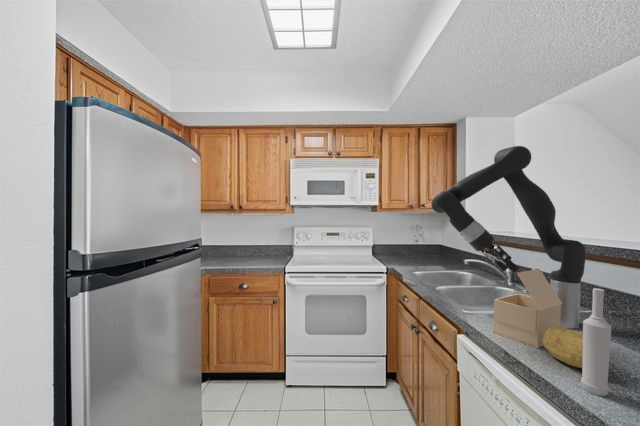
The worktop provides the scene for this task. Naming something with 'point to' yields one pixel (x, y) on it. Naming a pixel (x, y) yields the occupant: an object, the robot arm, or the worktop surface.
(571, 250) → the robot arm
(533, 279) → the carton flap
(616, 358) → the worktop surface
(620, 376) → the worktop surface
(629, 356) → the worktop surface
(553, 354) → the potato
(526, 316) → the carton
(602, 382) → the bottle
